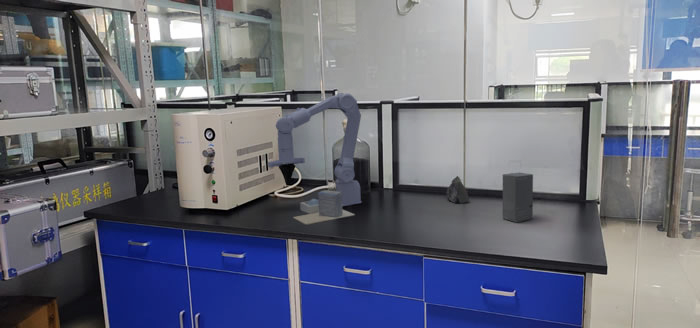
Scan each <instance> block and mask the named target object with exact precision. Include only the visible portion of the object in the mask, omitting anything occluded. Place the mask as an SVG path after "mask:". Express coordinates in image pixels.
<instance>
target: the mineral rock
mask: <svg viewBox="0 0 700 328" xmlns="http://www.w3.org/2000/svg"><path fill="white" fill-rule="evenodd" d="M445 194H446V197H447V199H448V200H449V201H451V202H452V203H454V204H466V203H468V202H469V200H470V198H469V194H468V191H467V189H466V187H465V185H464V184H463V182H462V180H461V178H460V176H456V177H454V178H453V179H452V180H451V184H450V185H449V186H448V187H447V188H446V193H445Z"/></svg>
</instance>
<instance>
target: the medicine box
mask: <svg viewBox="0 0 700 328" xmlns="http://www.w3.org/2000/svg"><path fill="white" fill-rule="evenodd" d="M317 198H318V199H317V200H318V204H319V215H324V216H332V217H338V216H340V215H342V214H343V210H344V209H343V206H342V192H337V191H336V190H327V189H326V190H321V191H320V192H317ZM342 209H343V210H342Z"/></svg>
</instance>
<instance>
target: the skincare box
mask: <svg viewBox="0 0 700 328" xmlns="http://www.w3.org/2000/svg"><path fill="white" fill-rule="evenodd" d="M533 190H534V174H532V173H527V172H526V173H525V172H524V173H523V172H511V173H503V174H502V219H503V220H506V221H511V222H514V223H516V224H517V223H520V222H526V221H528V220H533V213H534V212H533V205H534V202H533V197H534V195H533V193H534V192H533Z"/></svg>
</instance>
